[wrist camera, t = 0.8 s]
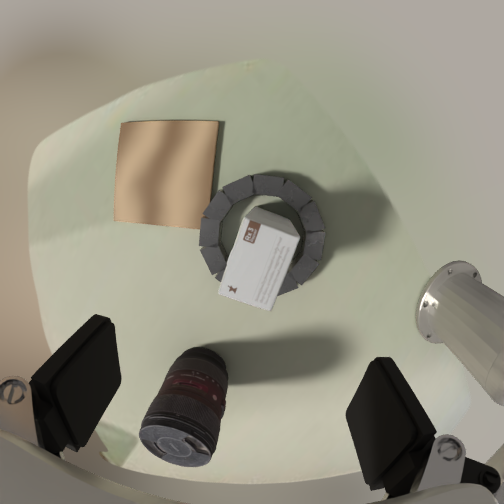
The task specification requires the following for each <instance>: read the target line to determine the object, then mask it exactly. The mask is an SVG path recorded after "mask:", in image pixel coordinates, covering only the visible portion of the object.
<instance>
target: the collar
mask: <svg viewBox="0 0 504 504" xmlns="http://www.w3.org/2000/svg"><path fill="white" fill-rule="evenodd" d="M283 182H284V178H283V177H275V176H266V175H257V174H254V180H253V179H252V177H251V175H248V176H246V177H244V178H241V179H239V180H237V181H235V182H232V183H230V184H228V185H226V186H224V187H223V189H224V190H219V191H218V192H217V193H216V195H215V196H214V198H213V199H212V201H211V202H210V203H209V205H208V206H207V208H206V209H205V211H204V212H203V214H204V215H205V216H204V217H202V218H201V225H200V240H199V246H203V247H202V249H201V250H200V251H201V253H202V255H203V257H204V259H205V261H206V263H207V265H208V267H209V269H210V272H211V274H212V275H213V274H215V273H217V275H216V277H215V278H216V279H217V280H218V281H220V282H221V281H222V278H223V275H224V272H225V269H226V266H227V261H228V258H229V257H228V255H227V253H226V251H225V249H224V247H223V245H222V243H221V234H222V222H223V219H224V217H225V216H226V215H227V213H228V212H229V210H230V209H231V208H232V206H233V205H234V203H236V202H238V201H240V200H243V199H245V198H247V197H249V196H252V195H254V194H259V195H267V196H276V197H280V198H281V199H282V200H284V201H285V202H286V203H288V204H289V205H290V206H292V207H293V208H294V209H296V211H297V213H298V216H299V218H300V221H301V223H302V226H303V228H304V234H303V241H302V247H301V251H300V252H299V254H298V255H297V256H296V258H295V259H294V260H293V261H292V263H291V264H290V266H289V268H288V271H287V273H286V276H285V278H284V281H283V283H282V286H281V288H280V291H279V293H278V295H277V296H279V295H281V294H284V293H286V292H289V291H292V290H294V289H297V288H298V285H297V282H298V283H299V284H301V285H302V284H303V283H304V282H305V281H306V280H307V278H308V277H309V276H310V275H311V274H312V272H313V271H314V270H315V269H316V267H317V266H318V265H319V263H318V261H317V260H321V258H322V252H323V246H324V240H325V234H326V232H325V231H323V230H322V229H324V228H325V226H324V224H323V221H322V218H321V216H320V213H319V211H318V208H317V206H316V203H315V201H313V200H310V199H311V198H312V197H311V196H309V195H308V194H307V193H306V192H304V191H303V190H302V189H300V188H299V187H298V186H296V185H295V184H294V183H292V182H291V181H290V180H289V179H288V180H286V181H285V183H284V184H283Z"/></svg>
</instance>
